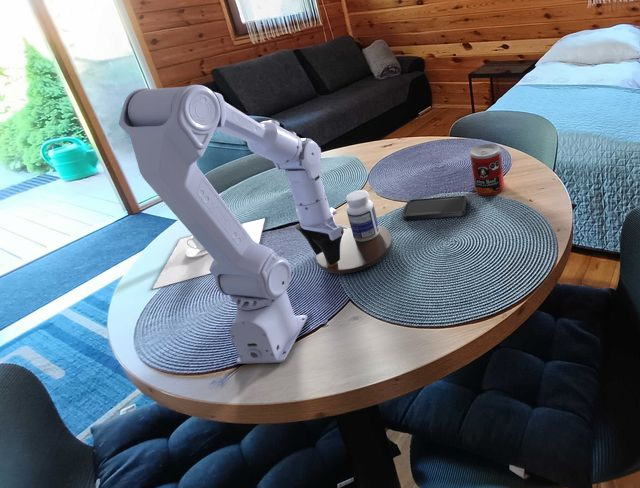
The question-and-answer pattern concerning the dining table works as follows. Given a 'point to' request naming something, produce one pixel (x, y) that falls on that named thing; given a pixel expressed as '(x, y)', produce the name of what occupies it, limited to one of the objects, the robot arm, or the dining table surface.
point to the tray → (358, 252)
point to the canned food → (487, 169)
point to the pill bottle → (362, 216)
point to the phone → (435, 207)
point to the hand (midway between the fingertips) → (327, 256)
